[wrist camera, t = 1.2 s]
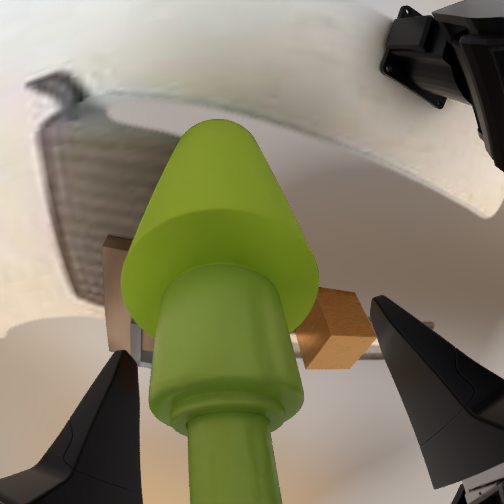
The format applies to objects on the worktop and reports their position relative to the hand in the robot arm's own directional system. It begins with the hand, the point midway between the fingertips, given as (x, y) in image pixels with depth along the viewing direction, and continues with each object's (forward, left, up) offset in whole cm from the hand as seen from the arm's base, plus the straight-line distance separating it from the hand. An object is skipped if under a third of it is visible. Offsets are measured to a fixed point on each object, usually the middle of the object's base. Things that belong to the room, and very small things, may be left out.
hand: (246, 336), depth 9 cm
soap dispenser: (+1, -1, -13) cm, 13 cm away
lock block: (-12, +10, -13) cm, 21 cm away
